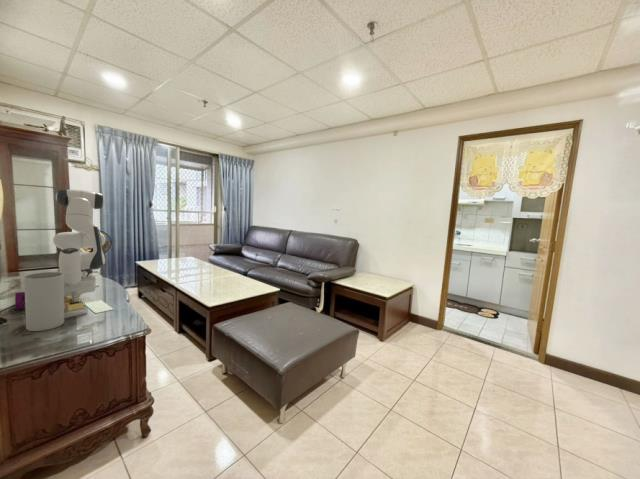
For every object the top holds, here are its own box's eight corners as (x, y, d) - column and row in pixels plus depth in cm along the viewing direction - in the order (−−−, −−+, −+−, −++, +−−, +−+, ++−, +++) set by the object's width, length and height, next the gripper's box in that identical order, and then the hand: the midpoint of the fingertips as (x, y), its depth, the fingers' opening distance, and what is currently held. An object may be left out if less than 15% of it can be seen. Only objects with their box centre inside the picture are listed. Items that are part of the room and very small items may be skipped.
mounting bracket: (19, 313, 145) (14, 309, 133) (20, 298, 147) (15, 293, 135) (44, 309, 152) (41, 305, 140) (44, 295, 154) (41, 290, 141)
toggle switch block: (55, 308, 141) (55, 287, 140) (77, 304, 148) (77, 284, 147) (64, 318, 131) (64, 295, 130) (87, 313, 139) (87, 292, 137)
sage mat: (84, 304, 150) (84, 303, 150) (101, 300, 157) (101, 300, 157) (95, 313, 139) (95, 312, 139) (113, 309, 146) (113, 309, 146)
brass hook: (60, 303, 141) (59, 292, 141) (74, 300, 146) (74, 289, 146) (68, 311, 133) (67, 299, 132) (83, 308, 138) (83, 296, 137)
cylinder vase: (23, 326, 120) (21, 274, 118) (59, 318, 131) (58, 270, 128) (29, 334, 114) (28, 280, 111) (68, 325, 124) (67, 275, 122)
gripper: (93, 274, 149) (93, 297, 150) (42, 280, 132) (43, 305, 133) (97, 276, 145) (97, 299, 147) (45, 282, 128) (45, 309, 130)
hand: (71, 302), depth 140 cm, fingers closed on brass hook, 3 cm apart
